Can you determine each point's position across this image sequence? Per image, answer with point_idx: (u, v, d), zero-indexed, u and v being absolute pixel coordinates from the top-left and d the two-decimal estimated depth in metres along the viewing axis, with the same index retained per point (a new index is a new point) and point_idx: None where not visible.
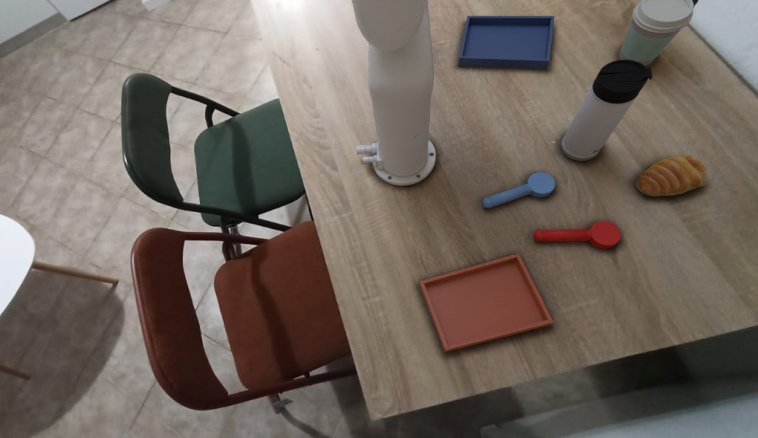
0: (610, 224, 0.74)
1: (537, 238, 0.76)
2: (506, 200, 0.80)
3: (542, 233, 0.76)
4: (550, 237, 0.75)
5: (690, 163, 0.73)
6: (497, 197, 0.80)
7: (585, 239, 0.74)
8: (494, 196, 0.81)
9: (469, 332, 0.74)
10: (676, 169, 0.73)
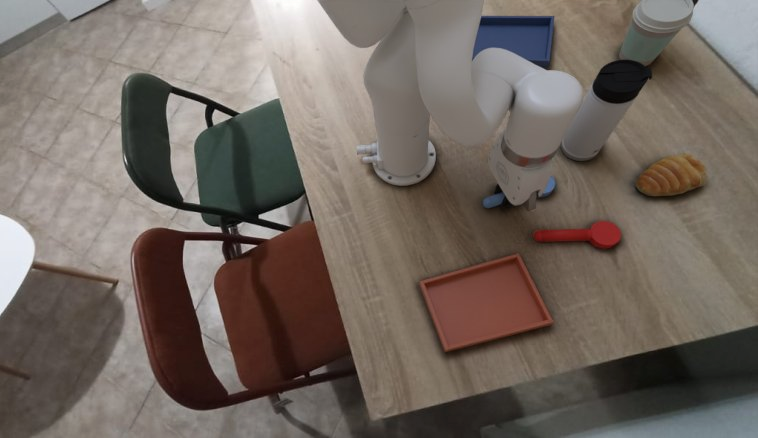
0: (610, 224, 0.74)
1: (537, 238, 0.76)
2: None
3: (542, 233, 0.76)
4: (550, 237, 0.75)
5: (690, 163, 0.73)
6: (497, 197, 0.80)
7: (585, 239, 0.74)
8: (494, 196, 0.81)
9: (469, 332, 0.74)
10: (676, 169, 0.73)
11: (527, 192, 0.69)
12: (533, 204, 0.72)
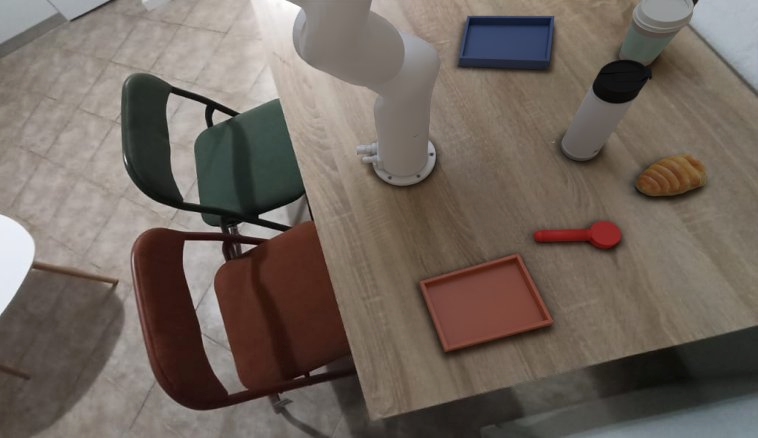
0: (610, 224, 0.74)
1: (537, 238, 0.76)
2: None
3: (542, 233, 0.76)
4: (550, 237, 0.75)
5: (690, 163, 0.73)
6: None
7: (585, 239, 0.74)
8: None
9: (469, 332, 0.74)
10: (676, 169, 0.73)
11: None
12: None
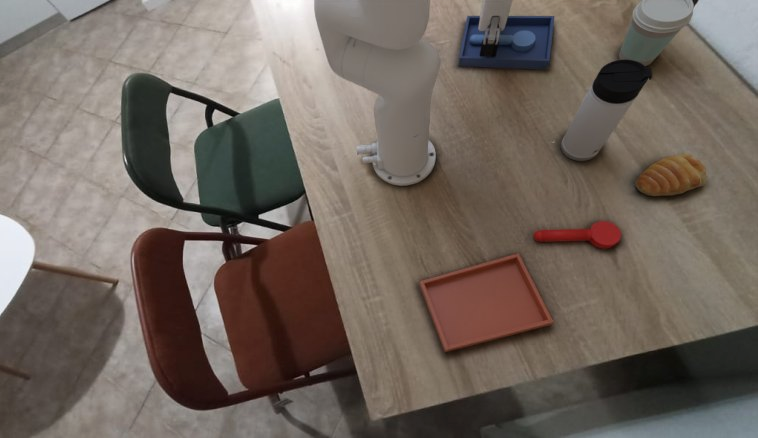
0: (610, 224, 0.74)
1: (537, 238, 0.76)
2: None
3: (542, 233, 0.76)
4: (550, 237, 0.75)
5: (690, 163, 0.73)
6: (482, 36, 0.95)
7: (585, 239, 0.74)
8: (481, 35, 0.95)
9: (469, 332, 0.74)
10: (676, 169, 0.73)
11: (488, 13, 0.84)
12: (493, 32, 0.84)
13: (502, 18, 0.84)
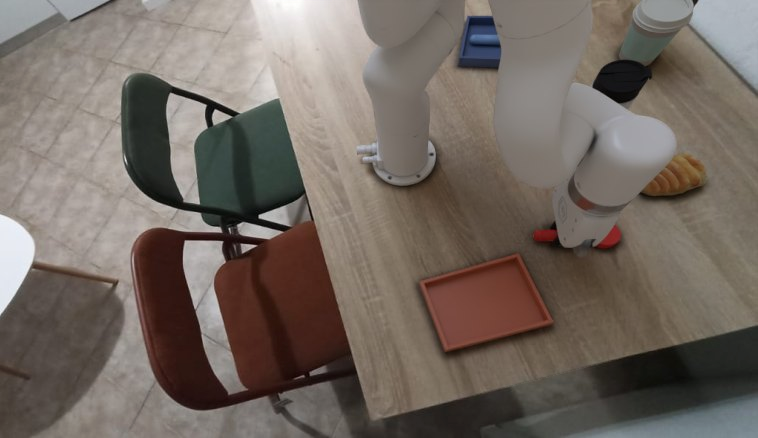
0: None
1: (537, 238, 0.76)
2: (488, 41, 0.95)
3: (542, 233, 0.76)
4: (550, 237, 0.75)
5: (689, 163, 0.73)
6: (482, 36, 0.95)
7: None
8: (481, 35, 0.95)
9: (469, 332, 0.74)
10: (676, 169, 0.73)
11: (580, 237, 0.64)
12: (584, 252, 0.67)
13: (599, 240, 0.64)
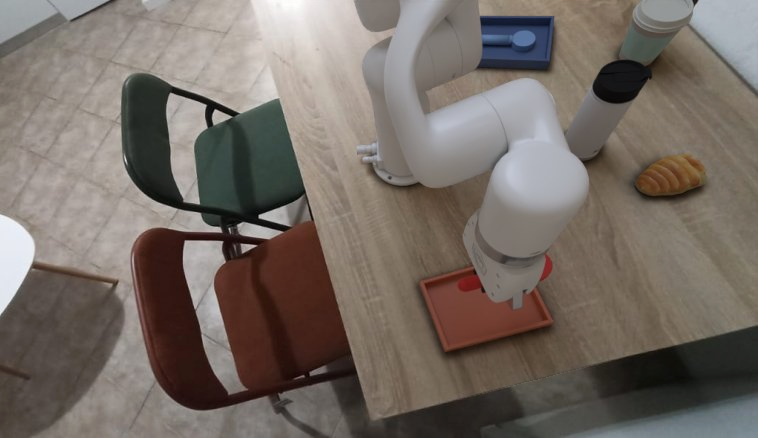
0: None
1: (463, 289, 0.62)
2: (488, 41, 0.95)
3: (466, 282, 0.62)
4: (477, 285, 0.62)
5: (689, 163, 0.73)
6: (482, 36, 0.95)
7: None
8: None
9: (469, 332, 0.74)
10: (676, 169, 0.73)
11: (510, 292, 0.50)
12: (519, 303, 0.54)
13: (531, 288, 0.51)
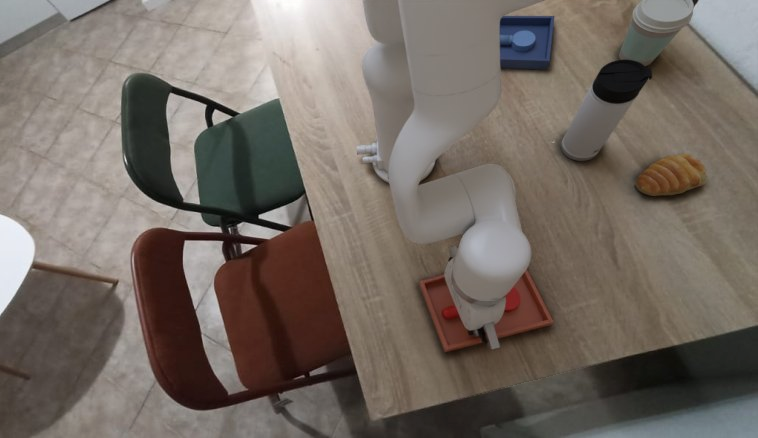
0: None
1: (446, 317, 0.74)
2: None
3: (449, 311, 0.74)
4: (457, 314, 0.74)
5: (689, 163, 0.73)
6: None
7: None
8: None
9: None
10: (676, 169, 0.73)
11: (479, 324, 0.63)
12: (494, 340, 0.64)
13: (497, 320, 0.63)
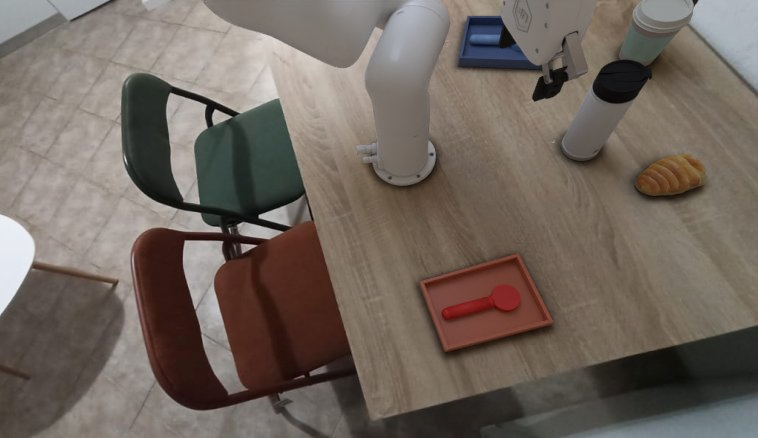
0: (507, 286, 0.73)
1: (446, 317, 0.74)
2: (488, 41, 0.95)
3: (449, 311, 0.74)
4: (457, 314, 0.74)
5: (689, 162, 0.73)
6: (482, 36, 0.95)
7: (489, 307, 0.73)
8: (481, 35, 0.95)
9: (469, 332, 0.74)
10: (676, 169, 0.73)
11: (558, 33, 0.46)
12: (580, 59, 0.46)
13: (582, 32, 0.46)
